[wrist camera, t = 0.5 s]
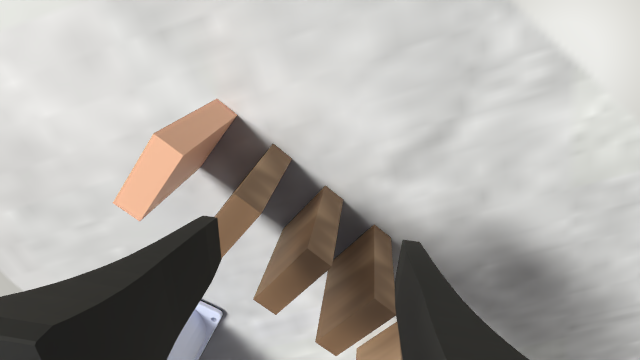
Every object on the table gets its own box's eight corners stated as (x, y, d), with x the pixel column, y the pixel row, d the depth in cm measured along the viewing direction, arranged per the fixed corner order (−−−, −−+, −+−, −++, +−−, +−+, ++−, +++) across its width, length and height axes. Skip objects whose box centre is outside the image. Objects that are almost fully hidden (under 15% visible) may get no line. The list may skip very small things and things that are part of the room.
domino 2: (292, 158, 23) (261, 213, 17) (251, 205, 25) (210, 270, 19) (273, 143, 22) (234, 193, 16) (233, 192, 25) (186, 253, 18)
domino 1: (237, 115, 22) (183, 155, 16) (200, 167, 24) (139, 221, 18) (216, 98, 22) (153, 133, 15) (181, 153, 24) (112, 202, 18)
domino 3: (343, 199, 24) (331, 266, 17) (299, 241, 26) (275, 314, 19) (325, 185, 23) (307, 248, 17) (283, 229, 25) (253, 299, 19)
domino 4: (390, 237, 24) (396, 314, 18) (345, 275, 27) (336, 356, 20) (374, 224, 24) (374, 298, 18) (329, 263, 26) (315, 341, 20)
